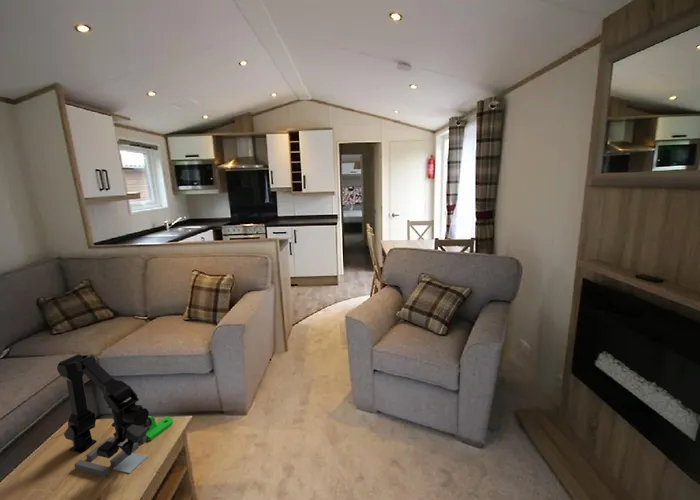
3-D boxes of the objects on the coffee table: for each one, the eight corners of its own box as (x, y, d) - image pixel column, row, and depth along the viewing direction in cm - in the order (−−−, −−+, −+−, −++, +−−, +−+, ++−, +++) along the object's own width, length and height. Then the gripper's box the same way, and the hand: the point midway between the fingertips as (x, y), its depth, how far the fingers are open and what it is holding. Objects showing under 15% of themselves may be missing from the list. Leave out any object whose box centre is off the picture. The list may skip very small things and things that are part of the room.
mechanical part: (151, 441, 140) (148, 424, 139) (141, 437, 143) (138, 421, 141) (176, 423, 151) (173, 407, 150) (167, 420, 154) (164, 404, 152)
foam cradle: (75, 469, 127) (74, 463, 127) (121, 434, 145) (120, 429, 145) (104, 477, 123) (103, 471, 123) (148, 440, 141) (147, 434, 141)
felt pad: (113, 469, 127) (112, 468, 127) (131, 453, 134) (131, 452, 134) (129, 473, 124) (129, 472, 124) (147, 457, 132) (147, 456, 132)
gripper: (116, 440, 115) (123, 479, 118) (160, 406, 132) (165, 440, 135) (92, 434, 118) (99, 473, 121) (138, 402, 136) (143, 436, 138)
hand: (129, 454), depth 129 cm, fingers closed
